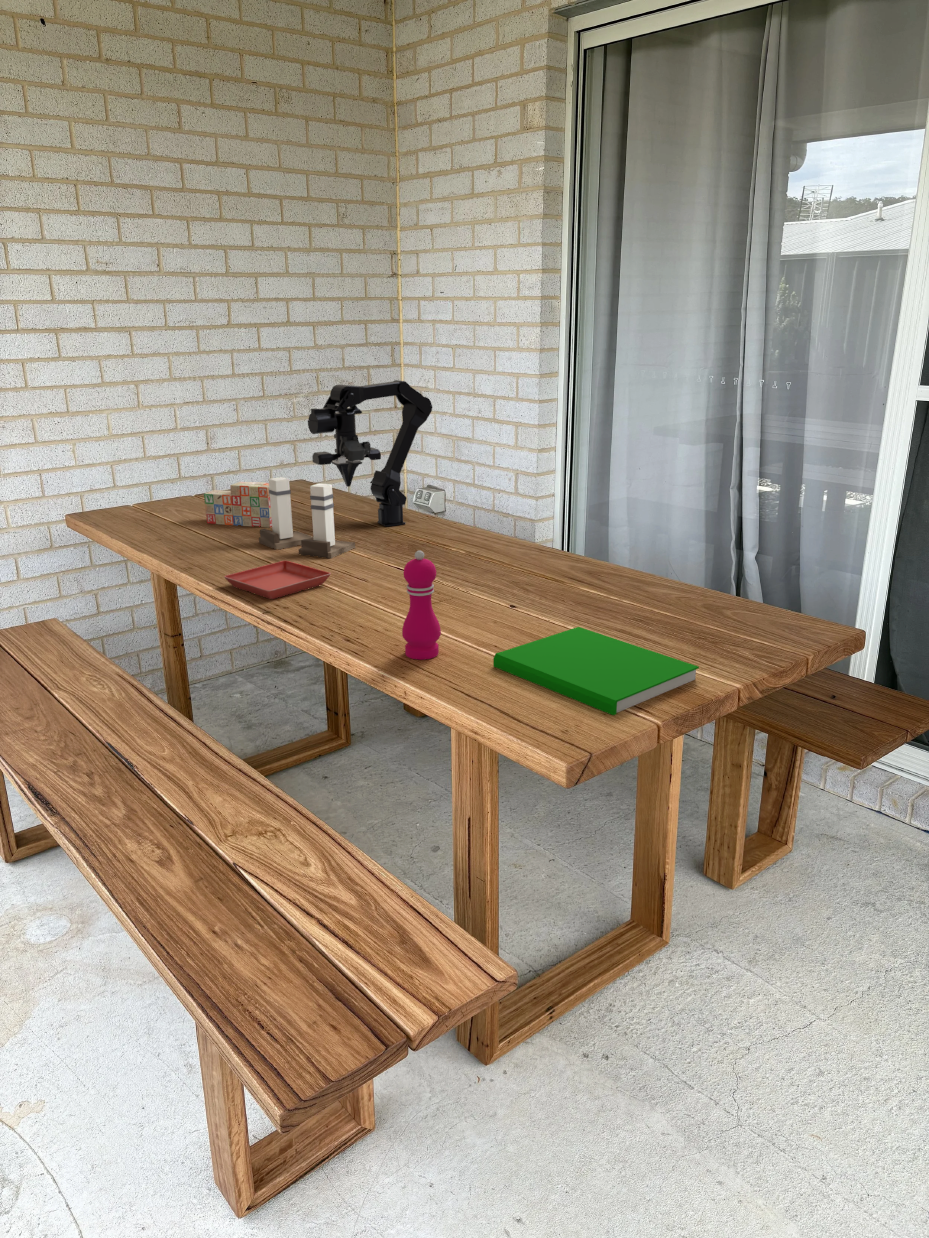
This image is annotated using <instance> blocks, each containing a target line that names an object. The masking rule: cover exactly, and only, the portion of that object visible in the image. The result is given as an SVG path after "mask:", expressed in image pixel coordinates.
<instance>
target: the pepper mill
mask: <svg viewBox="0 0 929 1238" xmlns="http://www.w3.org/2000/svg"><path fill="white" fill-rule="evenodd" d="M436 577H437V569H436V566H435V564H434V563H433V562H432V561H431V560H430V559H427V558H425V552H423V551H422V550H417V551H415V553H414V558H413V559H411V560H409V561H408V562H406V564H405V566H404V568H403V578H404V580H405V581H406V582H407V585H406V593H407V594H408V595H409V608H408V612H407V614H406V617H405V619H404V621H403V625H402V630H401V631H402V632H401V636H402V638H403V639H404V641H405V642H406V644H405V645H404V647H405V648H404V650H405V651H404V652H405V653H404V654H405V656H406V658H409V659H413V660H429V659H433V658H435V657H438V655H439V649H440V648H439V643H438V642H437V641H438V640H439V639H440V637H441V634H442V631H441V624H440V622H439V619H438V618H437V616H436V614H435V612H434V609H433V605H432V604H433V603H432V594H434V593H435V589H434V588H435V585H434V584H433V582H434V581H435V580H436Z"/></svg>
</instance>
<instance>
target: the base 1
mask: <svg viewBox="0 0 929 1238" xmlns="http://www.w3.org/2000/svg"><path fill="white" fill-rule="evenodd" d="M303 539H309V540H314V537H313V536H312V535H309V534H307V533H303V532H301V531H299V530H296V531H295V530H294V531H293V537H290V538H284V539H279V534H278V533H275V532H273V530H270V529H267V528H261V529H259V537H258V543H259V544H261V545H264V546H265V547H268V548H271V549H273V548H274V550H276V549H279V550H283V548H284V549H288V548H293V546H295V547H298V546H297V545H300V546H301V540H303Z"/></svg>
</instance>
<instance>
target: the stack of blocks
mask: <svg viewBox="0 0 929 1238" xmlns="http://www.w3.org/2000/svg"><path fill="white" fill-rule="evenodd" d="M229 486H230V487H229V488H230V490H224V489H223V490H219V489H213V490H211V491H208V492H205V493H203V497H204V498H203V499H204V504H205V507H204V508H205V517H206V523H207V524H212V525H226V526H238V525H241V526H243V527H254V526H259V528H269V527H270V528H272V527H271V526H272V517H271V504H270V494H269V482H264V481H263V482H262V481H255V482H254V481H237V482H234V483H232V484H230V485H229ZM260 526H261V527H260Z"/></svg>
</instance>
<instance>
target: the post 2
mask: <svg viewBox="0 0 929 1238" xmlns="http://www.w3.org/2000/svg"><path fill="white" fill-rule="evenodd" d="M309 489H310V495H309V499H310V502H311V503H310V504H311V505H310V509H311V518H312V520H311V521H312V535H313V537H314V540H318V541H327V542H330V546H332V545H335V540H336V537H335V535H336V534H335V518H334V507H335V504H334V501H333V499H334V493H333V484H329V483H316V484H315V483H314V484H313V485H310V487H309Z"/></svg>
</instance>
